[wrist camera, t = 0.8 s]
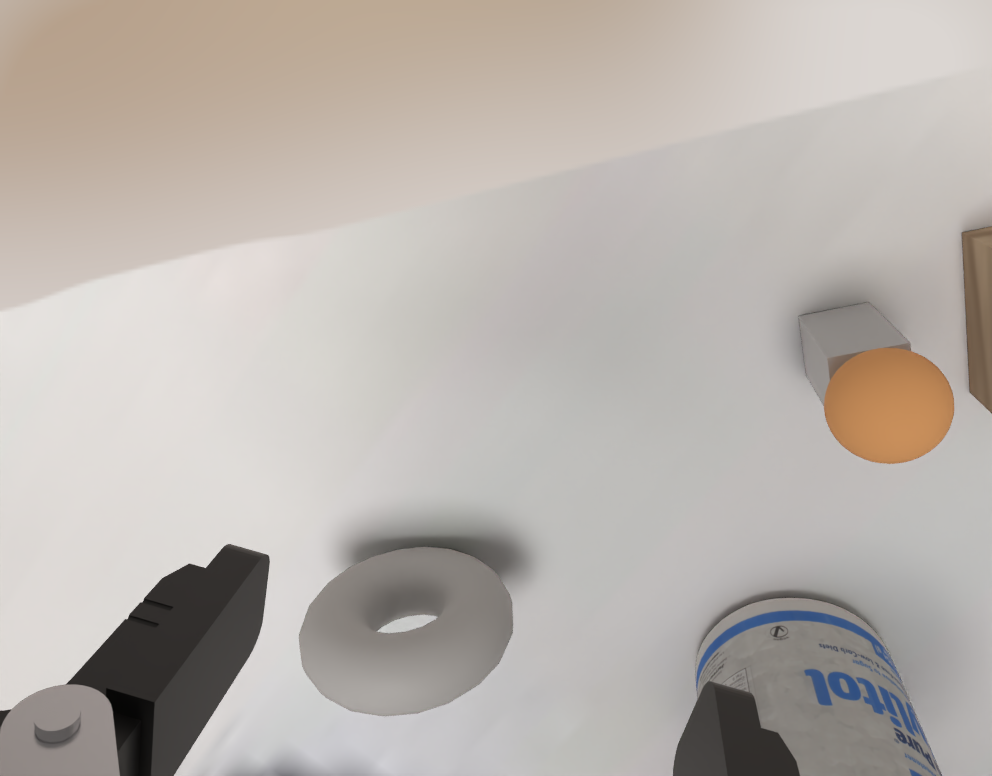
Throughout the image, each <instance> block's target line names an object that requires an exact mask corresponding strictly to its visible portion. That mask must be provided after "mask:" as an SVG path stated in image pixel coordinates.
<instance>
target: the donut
mask: <svg viewBox="0 0 992 776" xmlns="http://www.w3.org/2000/svg"><path fill="white" fill-rule="evenodd" d="M413 615H433V616H437V617H438V618H437V619H436V620H434V621H432V622H430V623H428V624H426V625H424V626H423V627H420V628H416V629H413V630H410V631H407V632H398V633H381V632H376V631H378V630H379V629H380V628H381V627H383V626H385V625H387V624H388V623H390V622H392V621H394V620H397V619H400V618H404V617H407V616H413ZM512 633H513V611H512V600H511V597H510V594H509V592H508V591H507V589H506V587H505V586H504V584H503V582H502V581H501V579H500V577H499V576H498V575H497V574H496V572H495V571H494V570H493V569H491V568H490V567H488V566H487V565H486V564H484V563H483V562H481V561H480V560H478V559H477V558H475V557H473V556H471V555H468V554H464V553H461V552H458V551H455V550H452V549H447V548H435V547H417V548H407V549H398V550H394V551H391V552H387V553H384V554H380V555H376V556H373V557H371V558H368V559H366V560H364V561H362V562H360V563H358V564H356V565H354V566H351V567H349V568H348V569H346V570H345V571H344V572H342V573H341V574H340V575H338V576H337V577H336V578H334V579H333V580H331V581H330V582H329V583H328V584H327V585H326V586H325V587H324V588H323V590H322V591H321V592H320V593H319V595H318V596H317V597H316V598H315V599H314V601H313V602H312V603H311V604H310V605H309V608H308V611H307V613H306V616H305V619H304V622H303V625H302V628H301V631H300V634H299V645H300V652H301V660H302V667H303V669H304V671H305V673H306V675H307V676H308V677H309V679H310V680H311V681H312V683H313V684H314V685H315V686H316V688H317V689H318V690H319V692H320V693H321V694H322V695H323V696H325V697H326V698H327V699H329V700H331V701H333V702H335V703H337V704H339V705H341V706H342V707H344V708H346V709H348V710H350V711H354V712H360V713H366V714H372V715H378V716H394V715H405V714H415V713H420V712H423V711H426V710H429V709H432V708H435V707H438V706H441V705H444V704H447V703H450V702H451V701H453V700H455V699H456V698H458V697H459V696H461V695H463V694H464V693H466V692H468V691H469V690H471V689H472V688H474V687H476V686H477V685H479V684H480V683H481V682H482V681H483V680H484V679H485V678H486V677H487V675H488V674H489V673H490V672H491V671H492V670H493V669H494V668H495V667H496V666H497V665H498V664H499V662H500V660H501V658H502V656H503V654H504V652H505V649H506V647H507V645H508V642H509V640H510V638H511V635H512Z"/></svg>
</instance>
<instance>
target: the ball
mask: <svg viewBox="0 0 992 776" xmlns="http://www.w3.org/2000/svg"><path fill="white" fill-rule="evenodd" d="M824 411H825V417H826V421H827V423H828V426H829V428H830V430H831V432H832V434H833V435H834V437H835V438H836V439H837V440H838V441H839V443H840V444H841V445H842V446H844V447H845V448H846V449H847V450H848V451H850V452H851V453H853V454H855V455H856V456H859V457H861V458H863V459H866V460H869V461H872V462H877V463H887V464H894V463H903V462H907V461H911V460H914V459H916V458H919V457H921V456H923V455H925V454H926V453H928V452H929V451H931V450H932V449H933V448H935V447H936V446H937V445H938V444H939V443H940V442H941V441H942V439H943V438H944V437H945V435H946V433H947V432H948V430H949V428H950V425H951V423H952V419H953V415H954V398H953V393H952V390H951V388H950V385H949V383H948V381H947V379H946V377H945V376H944V374H943V373H942V372H941V371H940V370H939V368H938V367H937V366H935V365H934V364H933V363H932V362H931V361H929V360H928V359H926V358H925V357H923V356H921V355H919V354H917V353H914V352H911V351H908V350H905V349H899V348H878V349H872V350H869V351H865V352H863V353H860V354H858V355H856V356H854V357H853V358H851V359H850V360H848V361H847V362H845V363H844V364H843V365H842V366H841V367H840V368H839V369H838V370H837V371H836V372H835V374H834V375H833V377H832V378H831V380H830V382H829V384H828V387H827V390H826V393H825V398H824Z"/></svg>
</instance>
